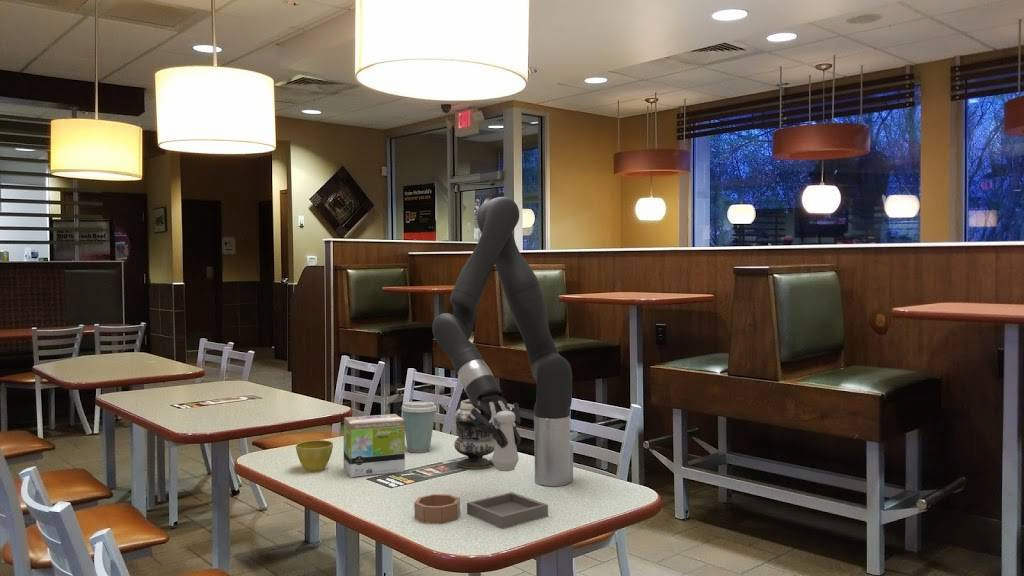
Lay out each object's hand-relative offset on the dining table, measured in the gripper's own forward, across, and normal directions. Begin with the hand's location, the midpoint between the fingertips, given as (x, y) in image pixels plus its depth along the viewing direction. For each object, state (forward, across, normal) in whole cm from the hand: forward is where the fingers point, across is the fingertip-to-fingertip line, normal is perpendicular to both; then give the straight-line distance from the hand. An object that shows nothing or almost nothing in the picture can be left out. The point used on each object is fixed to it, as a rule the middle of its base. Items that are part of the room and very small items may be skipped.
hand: (511, 444), depth 175 cm
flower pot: (-35, -16, +60) cm, 71 cm away
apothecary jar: (-18, +21, +42) cm, 50 cm away
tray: (+10, 0, +13) cm, 16 cm away
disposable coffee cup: (-36, +18, +60) cm, 72 cm away
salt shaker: (+3, 0, +6) cm, 6 cm away
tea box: (-27, -4, +51) cm, 58 cm away
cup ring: (+4, -12, +20) cm, 23 cm away
